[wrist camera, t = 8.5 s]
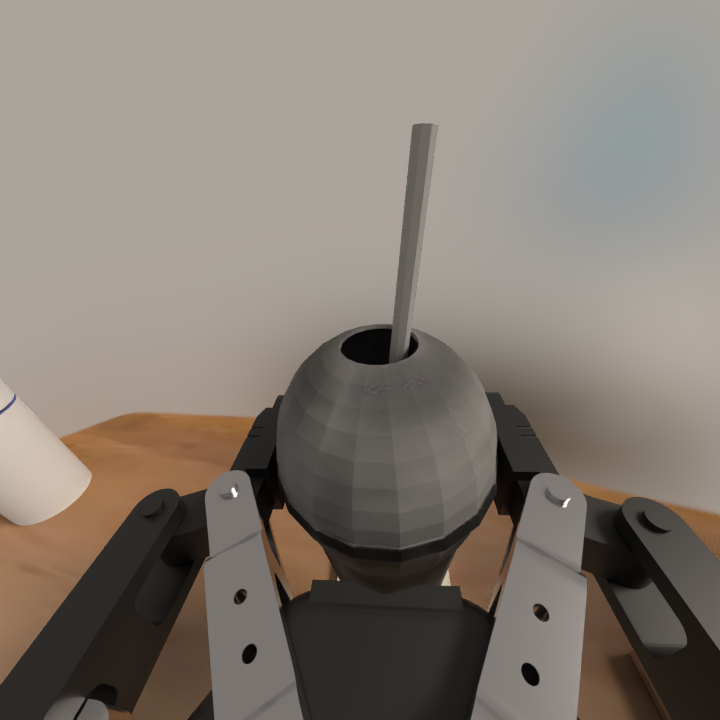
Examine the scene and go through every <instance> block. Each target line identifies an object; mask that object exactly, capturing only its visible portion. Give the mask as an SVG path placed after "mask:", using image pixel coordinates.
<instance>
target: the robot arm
mask: <svg viewBox="0 0 720 720" xmlns="http://www.w3.org/2000/svg"><path fill="white" fill-rule="evenodd" d="M485 394H486V396H487V399H488V402H489V404H490V407H491V409H492V413H493V416H494V419H495V422H496V429H497V453H498V460H499V466H498V480H497V494H496V496H495V497H494V502H495V505H496V508H497V511H498V514H499V515H510V517H511V520H512V522H513V527H512V530H511V533H510V537H509V540H508V544H507V547H506V551H505V554H504V557H503V561H502V564H501V568H500V571H499V575H498V578H497V582H496V585H495V588H494V590H493V593H492V596H491V599H490V603H489V606H488V609H487V611H485V610H484V609H482V608H481V607H479V606H478V605H476V604H474V603H472V602H470V601H468V600H466V599H463V598H462V597H461V592H460V586H441V585H419V586H415V587H412V588H408V589H405V590H401V591H397V592H394V593H390V594H380V593H377V592H375V591H372V590H369V589H367V588H364V587H361V586H359V585H356V584H353V583H351V582H348V581H331V580H313V581H312V587H311V591H308V592H305V593H303V594H301V595H298V596H296V597H295V598H293V596H292V593H291V589H290V587H289V584H288V581H287V578H286V576H285V573H284V569H283V566H282V562H281V559H280V555H279V552H278V548H277V545H276V541H275V537H274V534H273V530H272V527H271V523H270V521H269V519H270V516H271V513H272V510H273V509H283V507H284V503H285V501H284V498H283V495H282V493H281V490H280V487H279V485H278V482H277V479H278V463H277V453H276V441H277V421H278V414H279V409H280V405H281V402H282V400H283V398H284V395H279V396H278V397H277V399H276V401H275V403H274V405H273V408H266V409H265V410H264V411H262V412H261V413H260V414H259V415H258V416H257V418H256V420H255V422H254V424H253V426H252V429H251V430H250V432H249V434H248V437H247V438H246V440H245V442H244V443H243V445H242V447H241V449H240V451H239V453H238V455H237V457H236V459H235V461H234V463H233V465H232V467H231V469H230V471H229V472H226V473H224V474H222V475H220V476H219V477H217V478H216V479H215V480H214V481H213V482H212V483H211V484H210V486H209V487H208V489H205V490H202V491H199V492H195V493H192V494H188V495H185V496H181V497H180V496H179V494H178V493H177V492H176V491H175V490H173V489H161V490H158V491H155V492H153V493H151V494H149V495H148V496H146V497H145V498H144V499H142V500H141V501H140V502H139V503H138V504H137V505H136V506H135V508H134V509H133V510H132V511H131V513H130V514H129V515H128V517H127V518H126V519H125V521H124V522H123V523H122V525H121V526H120V527H119V529H118V530H117V531H116V533H115V534H114V535H113V537H112V538H111V539H110V541H109V542H108V543H107V545H106V546H105V547H104V549H103V550H102V551H101V553H100V554H99V555H98V557H97V558H96V559H95V561H94V562H93V563H92V565H91V566H90V567H89V569H88V570H87V571H86V572H85V574H84V575H83V576H82V578H81V579H80V580H79V582H78V583H77V584H76V586H75V587H74V588H73V590H72V591H71V592H70V594H69V595H68V596H67V598H66V599H65V600H64V602H63V603H62V604H61V606H60V607H59V608H58V610H57V611H56V612H55V614H54V615H53V616H52V618H51V619H50V620H49V622H48V623H47V624H46V626H45V627H44V628H43V630H42V631H41V632H40V634H39V635H38V636H37V638H36V639H35V640H34V641H33V643H32V644H31V645H30V647H29V648H28V649H27V651H26V652H25V653H24V655H23V656H22V657H21V659H20V660H19V661H18V663H17V664H16V665H15V667H14V668H13V669H12V671H11V672H10V673H9V675H8V676H7V677H6V679H5V680H4V681H3V683H2V684H1V685H0V720H133V718H132V715H131V714H132V711H133V709H134V707H135V705H136V703H137V701H138V699H139V697H140V695H141V692H142V690H143V688H144V686H145V684H146V682H147V680H148V678H149V676H150V674H151V671H152V669H153V667H154V665H155V663H156V661H157V659H158V657H159V655H160V652H161V650H162V648H163V646H164V644H165V642H166V640H167V638H168V636H169V634H170V631H171V629H172V627H173V625H174V623H175V621H176V619H177V617H178V615H179V612H180V610H181V608H182V606H183V604H184V602H185V600H186V598H187V596H188V593H189V591H190V589H191V587H192V585H193V583H194V581H195V579H196V577H197V575H198V572H199V570H200V568H201V566H202V564H203V562H204V560H205V558H206V557H208V556H210V557H209V559H207V560H206V561H205V564H204V581H205V595H206V609H207V623H208V637H209V651H210V665H211V679H212V690H211V691H210V693H209V694H208V695H207V696H206V697H205V699H204V700H203V701H202V702H201V704H200V705H199V706H198V707H197V708H196V710H195V711H194V712H193V713H192V715H191V716H190V717H189V718H188V719H187V720H580V719H579V718H578V717H577V709H578V697H579V684H580V671H581V659H582V646H583V634H584V621H585V608H586V596H587V580H586V577H585V575H583V574H582V573H581V569H582V570H585V571H587V572H590V573H593V575H594V577H595V579H596V580H597V582H598V584H599V586H600V588H601V590H602V592H603V593H604V595H605V597H606V599H607V601H608V603H609V605H610V606H611V608H612V610H613V612H614V614H615V616H616V618H617V619H618V621H619V623H620V625H621V627H622V629H623V631H624V632H625V634H626V636H627V638H628V640H629V642H630V643H631V645H632V647H633V649H634V651H635V653H636V655H637V656H638V658H639V660H640V662H641V664H642V666H643V668H644V669H645V671H646V673H647V675H648V677H649V679H650V681H651V682H652V684H653V686H654V688H655V690H656V692H657V694H658V695H659V697H660V699H661V701H662V703H663V705H664V707H665V708H666V710H667V712H668V714H669V716H670V718H671V720H720V561H719V560H718V559H717V558H716V557H715V556H714V554H713V553H712V552H711V551H710V550H709V549H708V548H707V546H706V545H705V544H704V543H703V542H702V541H701V540H700V538H699V537H698V536H697V535H696V534H695V533H694V532H693V531H692V529H691V528H690V527H689V526H688V525H687V524H686V523H685V522H684V520H683V519H682V518H681V517H679V516H678V515H677V514H676V513H675V512H673V511H672V510H671V509H669V508H667V507H666V506H664V505H662V504H660V503H658V502H656V501H653V500H650V499H647V498H642V497H631V498H628V499H627V500H625V501H624V503H623V504H622V505H618V504H615V503H611V502H607V501H604V500H600V499H597V498H593V497H590V496H587V495H585V494H583V493H582V492H581V490H580V489H579V488H578V487H577V486H576V485H575V484H573V483H572V482H571V481H569V480H568V479H566V478H564V477H562V476H560V475H559V474H558V472H557V471H556V469H555V467H554V465H553V464H552V462H551V460H550V458H549V457H548V455H547V453H546V451H545V450H544V448H543V446H542V444H541V443H540V441H539V439H538V438H537V437H536V434H535V432H534V430H533V429H532V428H531V425H530V423H529V422H528V420H527V418H526V416H525V415H524V414H523V413H522V412H520V410H518V409H517V408H516V407H515V406H514V405H505V404H504V402H503V400H502V398H501V396H500V394H499V393H498V392H485Z"/></svg>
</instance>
